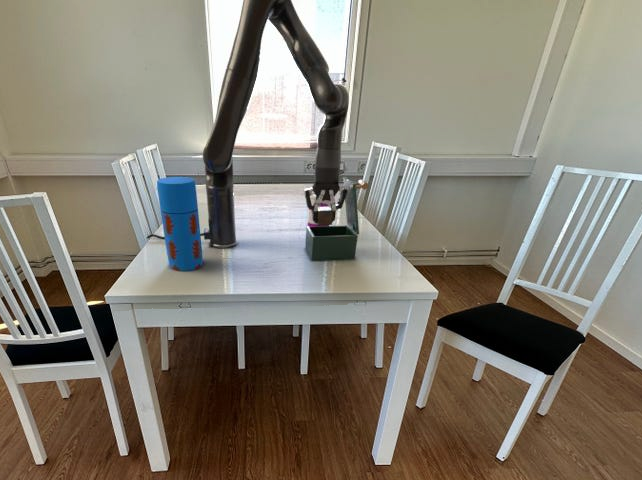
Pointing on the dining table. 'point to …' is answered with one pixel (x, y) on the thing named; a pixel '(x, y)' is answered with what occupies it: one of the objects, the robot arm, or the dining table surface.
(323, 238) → the tea tin
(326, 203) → the supplement can
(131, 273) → the dining table surface
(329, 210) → the walnut block
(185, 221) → the thermos
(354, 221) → the tin lid
